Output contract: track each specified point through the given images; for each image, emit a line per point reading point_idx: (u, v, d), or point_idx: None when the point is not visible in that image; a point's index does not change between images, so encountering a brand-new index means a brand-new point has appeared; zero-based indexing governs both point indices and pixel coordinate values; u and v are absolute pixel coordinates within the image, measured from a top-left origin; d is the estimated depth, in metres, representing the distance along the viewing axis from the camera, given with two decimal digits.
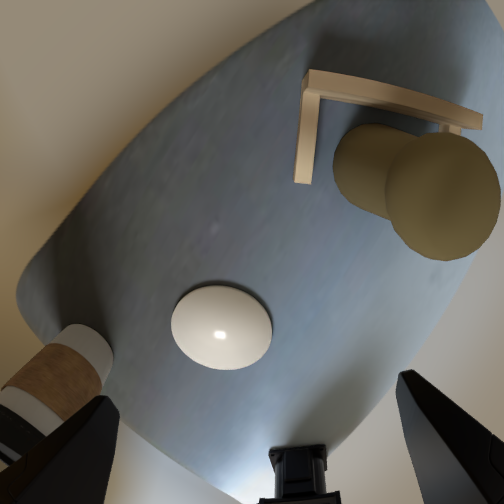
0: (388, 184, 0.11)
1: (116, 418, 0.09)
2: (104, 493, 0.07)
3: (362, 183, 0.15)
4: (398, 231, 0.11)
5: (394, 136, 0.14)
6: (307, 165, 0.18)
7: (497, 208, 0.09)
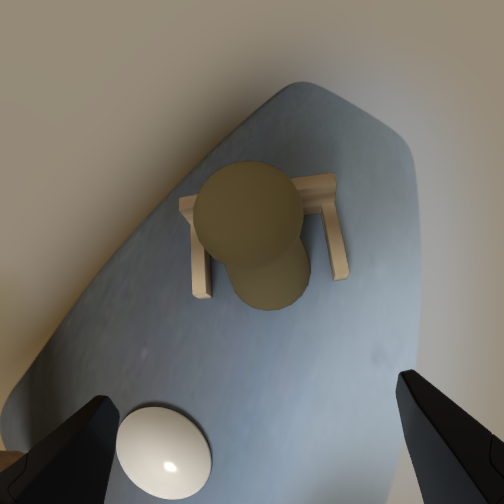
0: None
1: (116, 418, 0.09)
2: (104, 493, 0.07)
3: None
4: (207, 251, 0.14)
5: None
6: (200, 279, 0.23)
7: (283, 188, 0.13)
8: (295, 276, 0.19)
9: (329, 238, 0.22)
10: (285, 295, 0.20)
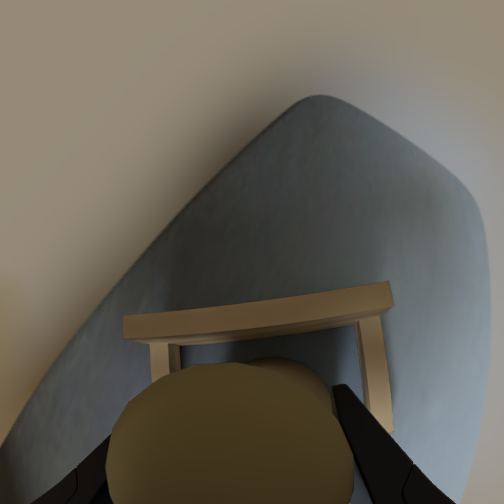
0: None
1: None
2: None
3: None
4: None
5: None
6: None
7: (317, 489, 0.04)
8: None
9: (369, 380, 0.12)
10: None
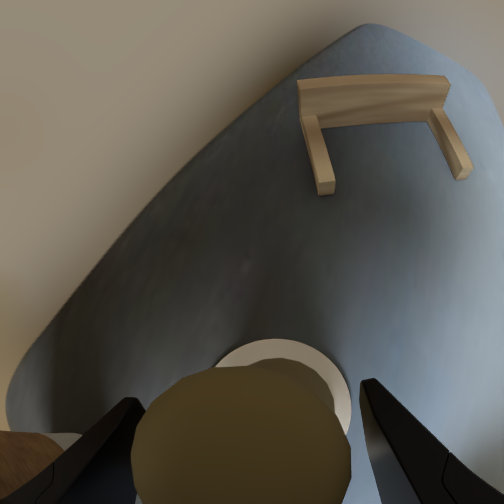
0: None
1: None
2: (134, 500, 0.07)
3: None
4: None
5: None
6: (326, 166, 0.18)
7: (319, 475, 0.05)
8: None
9: (448, 136, 0.18)
10: None
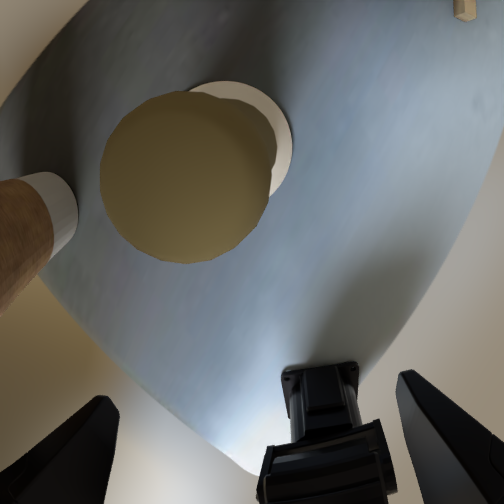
0: None
1: (116, 418, 0.09)
2: (104, 493, 0.07)
3: None
4: None
5: None
6: None
7: (241, 186, 0.08)
8: None
9: None
10: None
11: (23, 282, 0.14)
